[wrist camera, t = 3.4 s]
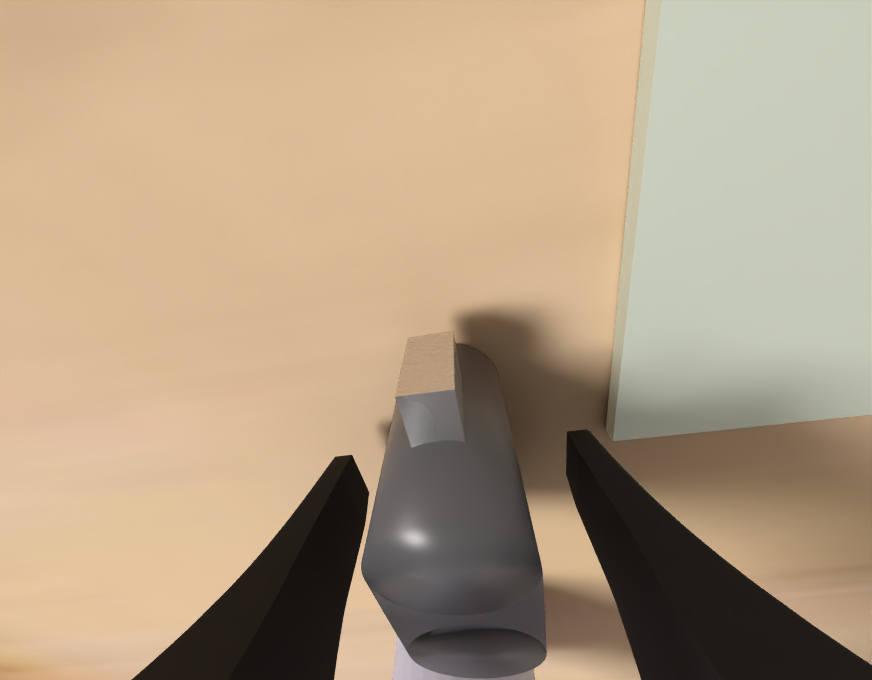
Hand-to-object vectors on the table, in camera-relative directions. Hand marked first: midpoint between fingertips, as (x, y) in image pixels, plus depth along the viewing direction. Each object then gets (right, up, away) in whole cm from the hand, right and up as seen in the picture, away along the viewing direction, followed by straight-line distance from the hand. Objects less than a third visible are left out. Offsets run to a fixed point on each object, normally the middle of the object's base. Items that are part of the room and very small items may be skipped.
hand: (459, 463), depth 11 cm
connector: (0, +1, +2) cm, 2 cm away
